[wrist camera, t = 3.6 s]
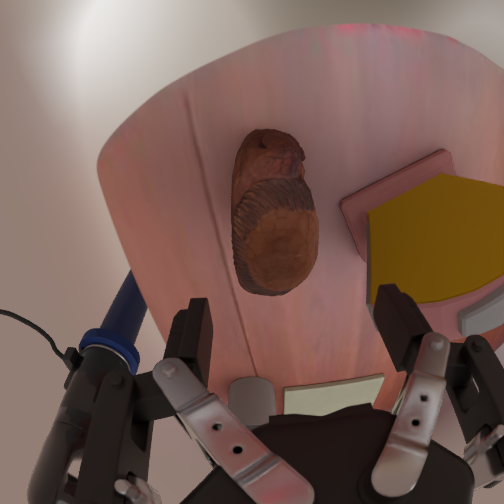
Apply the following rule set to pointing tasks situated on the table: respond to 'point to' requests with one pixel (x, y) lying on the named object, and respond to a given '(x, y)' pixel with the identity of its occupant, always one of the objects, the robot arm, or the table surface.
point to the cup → (252, 401)
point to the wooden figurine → (272, 214)
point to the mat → (331, 395)
